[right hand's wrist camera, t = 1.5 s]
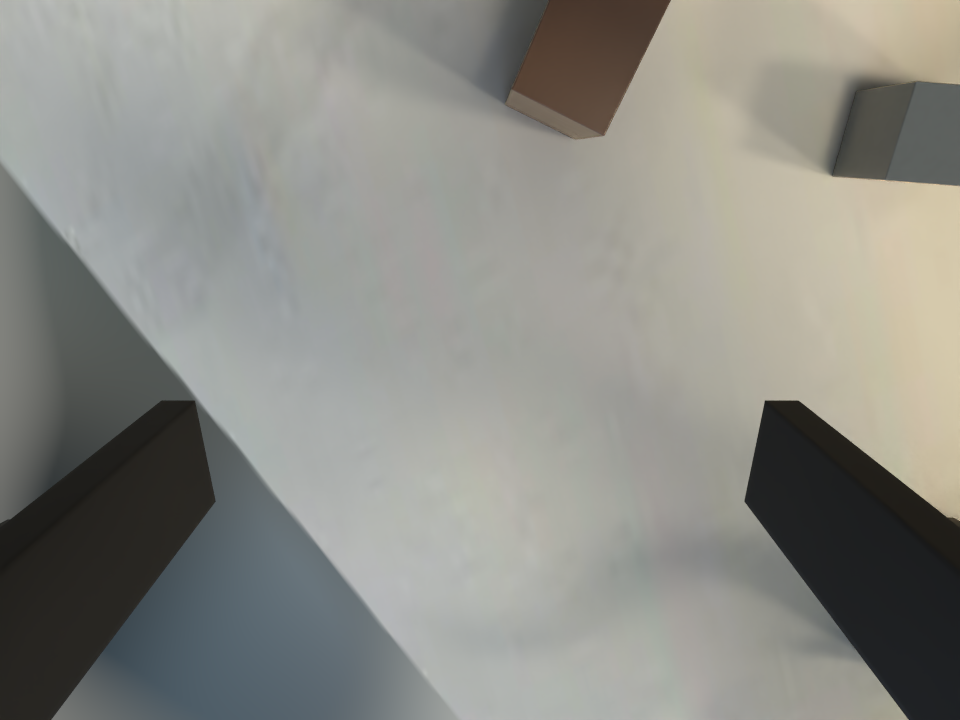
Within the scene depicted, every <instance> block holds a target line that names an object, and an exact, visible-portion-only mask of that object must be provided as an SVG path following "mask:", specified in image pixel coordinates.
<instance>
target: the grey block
mask: <svg viewBox="0 0 960 720" xmlns="http://www.w3.org/2000/svg"><path fill="white" fill-rule="evenodd" d="M832 176H833V177H842V178H855V179H868V180H880V181H893V182H906V183H920V184H935V185H949V186H960V84H947V83H935V82H923V81H914V82H908V83H902V84H896V85H890V86H884V87H878V88H872V89H866V90H860V91H857V92H856V95H855V98H854V102H853V105H852V109H851V112H850V116H849V119H848V123H847V126H846V130H845V133H844V137H843V140H842V144H841V147H840V151H839V154H838V158H837V161H836V165H835V168H834V172H833V175H832Z"/></svg>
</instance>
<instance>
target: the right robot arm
mask: <svg viewBox="0 0 960 720" xmlns="http://www.w3.org/2000/svg"><path fill="white" fill-rule="evenodd" d="M744 502H745V503H746V504H747V505H748V507H749V508H750V509H751V511H752V512H753V513H754V515H755V516H756V517H757V519H758V520H759V521H760V523H761V524H762V525H763V527H764V528H765V529H766V531H767V532H768V533H769V535H770V536H771V537H772V539H773V540H774V541H775V543H776V544H777V545H778V547H779V548H780V549H781V551H782V552H783V553H784V555H785V556H786V557H787V559H788V560H789V561H790V563H791V564H792V565H793V567H794V568H795V569H796V571H797V572H798V573H799V575H800V576H801V577H802V579H803V580H804V581H805V583H806V584H807V585H808V586H809V588H810V589H811V590H812V592H813V593H814V594H815V596H816V597H817V598H818V600H819V601H820V602H821V604H822V605H823V606H824V608H825V609H826V610H827V612H828V613H829V614H830V616H831V617H832V618H833V620H834V621H835V622H836V624H837V625H838V626H839V628H840V629H841V630H842V632H843V633H844V634H845V636H846V637H847V638H848V640H849V641H850V642H851V644H852V645H853V646H854V648H855V649H856V650H857V652H858V653H859V654H860V656H861V657H862V658H863V660H864V661H865V662H866V664H867V665H868V666H869V668H870V669H871V670H872V671H873V673H874V674H875V675H876V677H877V678H878V679H879V681H880V682H881V683H882V685H883V686H884V687H885V689H886V690H887V691H888V693H889V694H890V695H891V697H892V698H893V699H894V701H895V702H896V703H897V705H898V706H899V707H900V709H901V710H902V711H903V713H904V714H905V715H906V717H907V718H908V719H909V720H960V521H958V520H957V519H955V518H947V517H946V516H944V515H943V514H942V513H941V512H939V511H938V510H937V509H936V508H934V507H933V506H932V505H931V504H929V503H928V502H927V501H925V500H924V499H923V498H922V497H920V496H919V495H918V494H917V493H915V492H914V491H913V490H911V489H910V488H909V487H908V486H906V485H905V484H904V483H903V482H901V481H900V480H899V479H897V478H896V477H895V476H894V475H892V474H891V473H890V472H889V471H887V470H886V469H885V468H883V467H882V466H881V465H880V464H878V463H877V462H876V461H875V460H873V459H872V458H871V457H869V456H868V455H867V454H866V453H864V452H863V451H862V450H861V449H859V448H858V447H857V446H855V445H854V444H853V443H852V442H850V441H849V440H848V439H847V438H845V437H844V436H843V435H841V434H840V433H839V432H838V431H836V430H835V429H834V428H833V427H831V426H830V425H829V424H827V423H826V422H825V421H824V420H822V419H821V418H820V417H819V416H817V415H816V414H815V413H814V412H812V411H811V410H810V409H808V408H807V407H806V406H805V405H803V404H802V403H801V402H800V401H765V404H764V409H763V413H762V418H761V423H760V428H759V433H758V438H757V443H756V448H755V452H754V457H753V462H752V467H751V472H750V477H749V482H748V487H747V491H746V496H745V501H744ZM214 503H215V496H214V491H213V487H212V482H211V477H210V472H209V467H208V462H207V458H206V452H205V448H204V443H203V438H202V433H201V428H200V423H199V418H198V413H197V409H196V404H195V401H160V402H159V403H158V404H157V405H155V406H154V407H153V408H152V409H150V410H149V411H148V412H146V413H145V414H144V415H143V416H141V417H140V418H139V419H138V420H136V421H135V422H134V423H133V424H131V425H130V426H129V427H127V428H126V429H125V430H124V431H122V432H121V433H120V434H119V435H117V436H116V437H115V438H113V439H112V440H111V441H110V442H108V443H107V444H106V445H105V446H103V447H102V448H101V449H99V450H98V451H97V452H96V453H94V454H93V455H92V456H91V457H89V458H88V459H87V460H86V461H84V462H83V463H82V464H80V465H79V466H78V467H77V468H75V469H74V470H73V471H71V472H70V473H69V474H68V475H66V476H65V477H64V478H63V479H61V480H60V481H59V482H57V483H56V484H55V485H54V486H52V487H51V488H50V489H49V490H47V491H46V492H45V493H44V494H42V495H41V496H40V497H38V498H37V499H36V500H35V501H33V502H32V503H31V504H29V505H28V506H27V507H26V508H24V509H23V510H22V511H21V512H19V513H18V514H17V515H16V516H14V517H13V518H12V519H10V520H6V521H4V522H2V523H0V720H51V719H52V718H53V717H54V715H55V714H56V713H57V711H58V710H59V709H60V707H61V706H62V705H63V703H64V702H65V701H66V699H67V698H68V697H69V695H70V694H71V693H72V691H73V690H74V689H75V687H76V686H77V685H78V683H79V682H80V681H81V679H82V678H83V677H84V675H85V674H86V673H87V671H88V670H89V669H90V668H91V666H92V665H93V664H94V662H95V661H96V660H97V658H98V657H99V656H100V654H101V653H102V652H103V650H104V649H105V648H106V646H107V645H108V644H109V642H110V641H111V640H112V638H113V637H114V636H115V634H116V633H117V632H118V630H119V629H120V628H121V626H122V625H123V624H124V622H125V621H126V620H127V618H128V617H129V616H130V614H131V613H132V612H133V610H134V609H135V608H136V606H137V605H138V604H139V602H140V601H141V600H142V598H143V597H144V596H145V594H146V593H147V592H148V590H149V589H150V588H151V586H152V585H153V584H154V583H155V581H156V580H157V579H158V577H159V576H160V575H161V573H162V572H163V571H164V569H165V568H166V567H167V565H168V564H169V563H170V561H171V560H172V559H173V557H174V556H175V555H176V553H177V552H178V551H179V549H180V548H181V547H182V545H183V544H184V543H185V541H186V540H187V539H188V537H189V536H190V535H191V533H192V532H193V531H194V529H195V528H196V527H197V525H198V524H199V523H200V521H201V520H202V519H203V517H204V516H205V515H206V513H207V512H208V511H209V509H210V508H211V507H212V505H213V504H214Z"/></svg>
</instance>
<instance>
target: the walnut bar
mask: <svg viewBox="0 0 960 720" xmlns="http://www.w3.org/2000/svg"><path fill="white" fill-rule="evenodd" d="M670 1H671V0H548V3H547V5H546V7H545V10H544V12H543V14H542V17H541V19H540V22H539V24H538V26H537V29H536V31H535V33H534V36H533V38H532V40H531V43H530V45H529V48H528V50H527V52H526V55H525V57H524V59H523V62H522V64H521V67H520V69H519V71H518V74H517V76H516V78H515V81H514V83H513V85H512V88H511V90H510V93H509V95H508V97H507V100H506V102H505V105H507V106H509V107H511V108H513V109H515V110H517V111H519V112H521V113H523V114H525V115H527V116H529V117H531V118H533V119H535V120H537V121H539V122H541V123H543V124H545V125H547V126H549V127H551V128H553V129H555V130H557V131H559V132H561V133H563V134H565V135H567V136H569V137H571V138H573V139H575V140H578V139H585V138H592V137H599V136H604V135H605V133H606V131H607V129H608V127H609V125H610V123H611V121H612V119H613V117H614V115H615V113H616V111H617V109H618V107H619V105H620V103H621V101H622V99H623V97H624V95H625V93H626V91H627V89H628V87H629V85H630V82H631V80H632V78H633V76H634V74H635V72H636V70H637V68H638V66H639V64H640V62H641V60H642V58H643V56H644V54H645V52H646V50H647V48H648V46H649V44H650V42H651V40H652V38H653V36H654V34H655V31H656V29H657V27H658V25H659V23H660V21H661V19H662V17H663V15H664V13H665V11H666V9H667V7H668V5H669V3H670Z"/></svg>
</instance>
